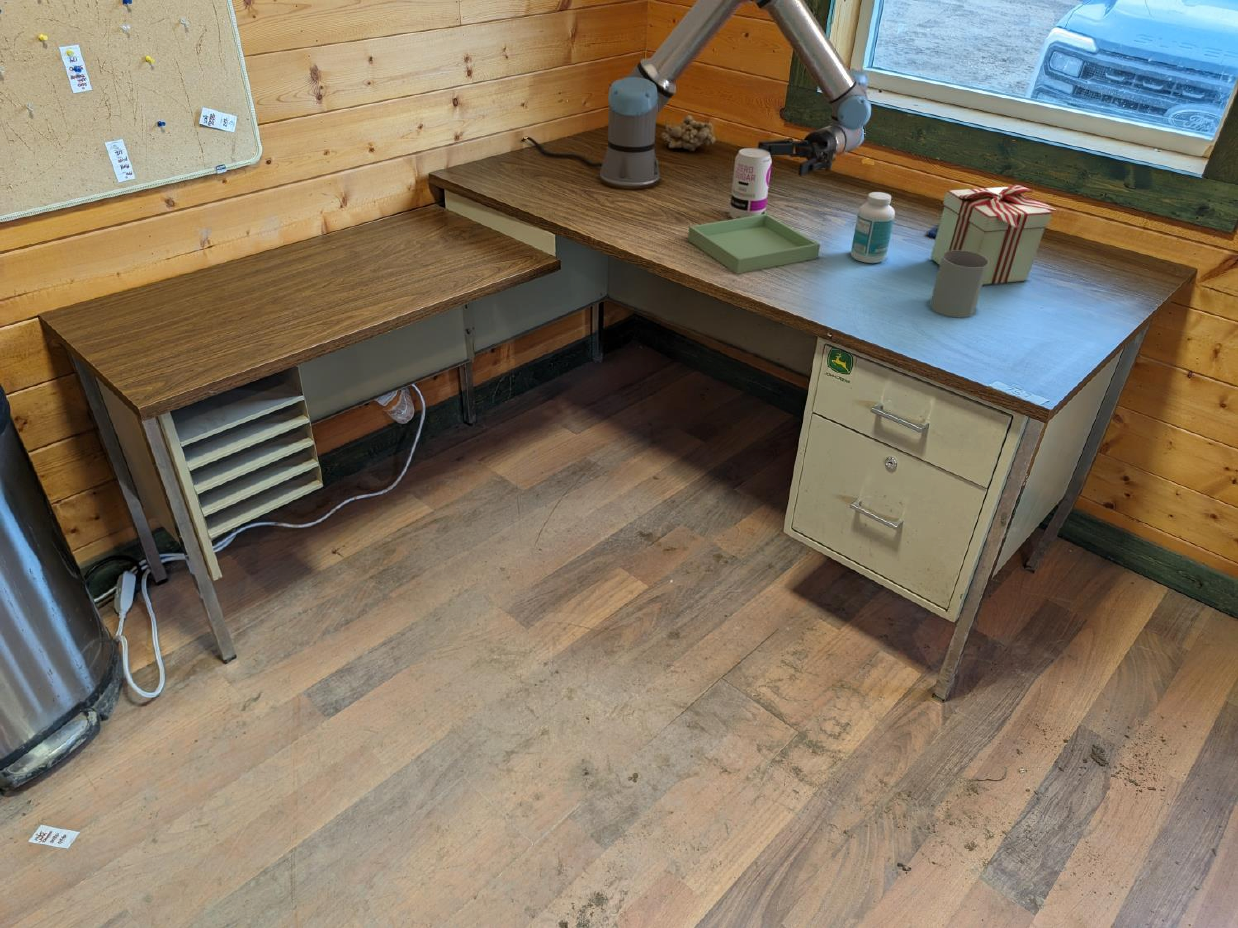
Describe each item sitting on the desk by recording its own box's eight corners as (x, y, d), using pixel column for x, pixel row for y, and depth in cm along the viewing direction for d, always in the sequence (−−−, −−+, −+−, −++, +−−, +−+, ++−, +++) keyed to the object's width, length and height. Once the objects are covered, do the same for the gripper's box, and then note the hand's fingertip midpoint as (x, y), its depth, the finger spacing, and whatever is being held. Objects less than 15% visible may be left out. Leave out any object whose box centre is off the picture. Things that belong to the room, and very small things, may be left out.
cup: (923, 298, 173) (935, 250, 168) (963, 298, 174) (977, 250, 168) (939, 317, 167) (953, 268, 161) (981, 317, 167) (996, 268, 162)
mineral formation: (687, 138, 258) (728, 146, 249) (657, 154, 251) (698, 163, 242) (685, 110, 253) (726, 117, 244) (654, 126, 246) (695, 134, 237)
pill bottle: (886, 254, 191) (900, 192, 183) (883, 267, 186) (897, 203, 178) (851, 248, 193) (864, 187, 185) (847, 261, 187) (859, 198, 180)
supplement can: (763, 213, 210) (771, 148, 201) (764, 225, 203) (773, 159, 194) (729, 210, 210) (736, 146, 201) (729, 223, 203) (736, 157, 195)
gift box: (981, 295, 175) (1006, 211, 165) (923, 260, 189) (943, 180, 179) (1048, 285, 181) (1076, 202, 171) (987, 251, 194) (1009, 173, 184)
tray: (687, 240, 194) (689, 226, 192) (765, 226, 202) (766, 213, 200) (737, 273, 180) (738, 259, 178) (817, 258, 188) (820, 244, 186)
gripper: (864, 171, 215) (819, 192, 201) (778, 149, 228) (730, 167, 215) (870, 140, 210) (824, 158, 197) (782, 119, 223) (733, 135, 210)
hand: (775, 163), depth 206 cm, fingers open, 13 cm apart
